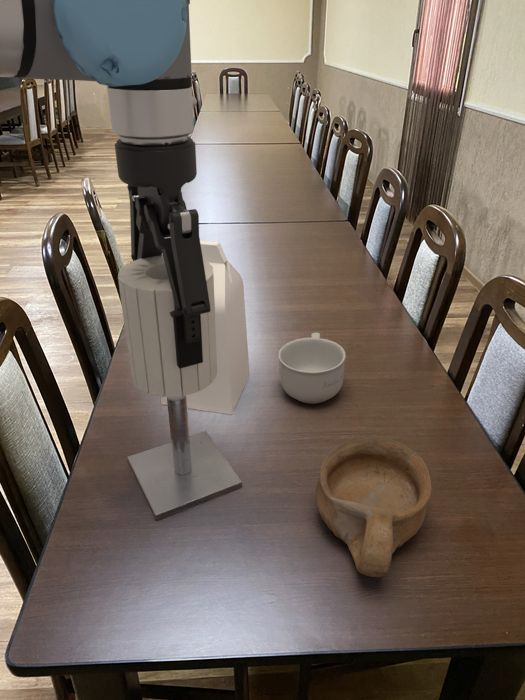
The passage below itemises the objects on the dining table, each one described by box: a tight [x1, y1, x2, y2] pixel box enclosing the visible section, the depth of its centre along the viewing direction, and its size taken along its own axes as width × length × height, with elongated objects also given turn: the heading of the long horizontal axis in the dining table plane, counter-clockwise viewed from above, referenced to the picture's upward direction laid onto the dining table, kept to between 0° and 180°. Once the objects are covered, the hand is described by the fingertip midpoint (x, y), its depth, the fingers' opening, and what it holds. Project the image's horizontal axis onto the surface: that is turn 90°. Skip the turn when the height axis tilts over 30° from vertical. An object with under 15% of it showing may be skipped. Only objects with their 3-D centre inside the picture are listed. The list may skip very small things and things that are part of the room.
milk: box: [160, 240, 251, 416], centre depth 84 cm, size 12×12×26 cm
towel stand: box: [126, 395, 243, 522], centre depth 70 cm, size 12×12×14 cm
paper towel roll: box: [117, 254, 217, 398], centre depth 61 cm, size 10×10×13 cm
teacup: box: [277, 332, 347, 405], centre depth 90 cm, size 14×11×8 cm
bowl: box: [315, 436, 433, 578], centre depth 63 cm, size 18×14×10 cm
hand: (172, 341), depth 62 cm, fingers closed on paper towel roll, 10 cm apart
